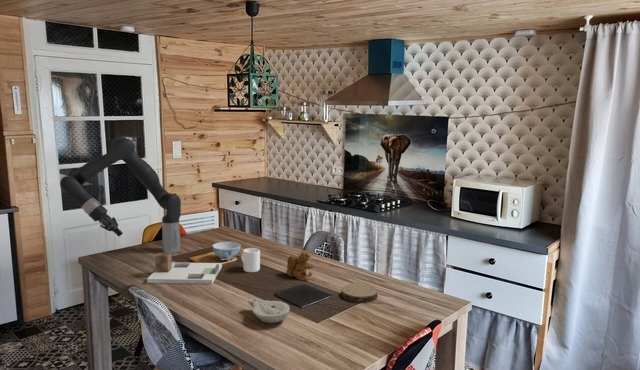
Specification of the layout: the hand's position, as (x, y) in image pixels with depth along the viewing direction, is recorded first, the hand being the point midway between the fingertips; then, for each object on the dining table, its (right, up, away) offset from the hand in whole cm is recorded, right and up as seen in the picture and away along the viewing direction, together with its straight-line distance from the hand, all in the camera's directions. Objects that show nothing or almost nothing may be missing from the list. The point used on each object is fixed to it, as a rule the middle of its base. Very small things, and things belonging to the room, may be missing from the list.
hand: (121, 234), depth 230 cm
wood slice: (+114, -26, -18) cm, 118 cm away
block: (+20, -18, +3) cm, 27 cm away
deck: (+31, -20, +4) cm, 37 cm away
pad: (+42, -20, +4) cm, 47 cm away
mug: (+60, -19, +14) cm, 64 cm away
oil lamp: (+75, -28, -42) cm, 90 cm away
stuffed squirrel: (+86, -21, +5) cm, 88 cm away
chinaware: (+45, -16, +30) cm, 57 cm away
